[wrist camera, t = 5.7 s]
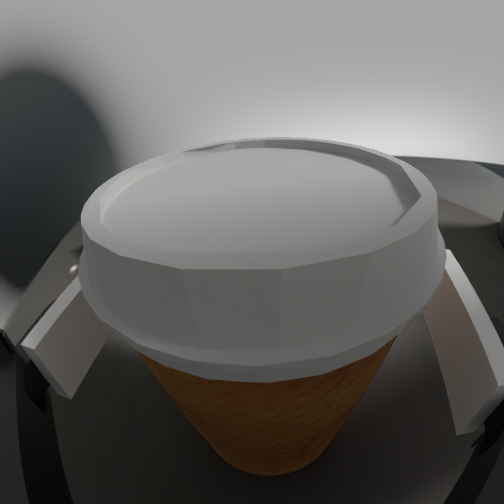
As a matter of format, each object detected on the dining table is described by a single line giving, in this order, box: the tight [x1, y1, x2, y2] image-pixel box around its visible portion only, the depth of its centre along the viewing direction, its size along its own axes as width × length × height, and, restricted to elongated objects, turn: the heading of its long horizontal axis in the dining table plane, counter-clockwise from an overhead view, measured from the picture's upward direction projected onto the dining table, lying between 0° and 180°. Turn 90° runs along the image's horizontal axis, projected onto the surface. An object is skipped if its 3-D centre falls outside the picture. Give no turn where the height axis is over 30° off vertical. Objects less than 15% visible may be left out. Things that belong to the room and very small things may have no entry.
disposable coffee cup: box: [78, 137, 447, 476], centre depth 11 cm, size 10×10×12 cm
